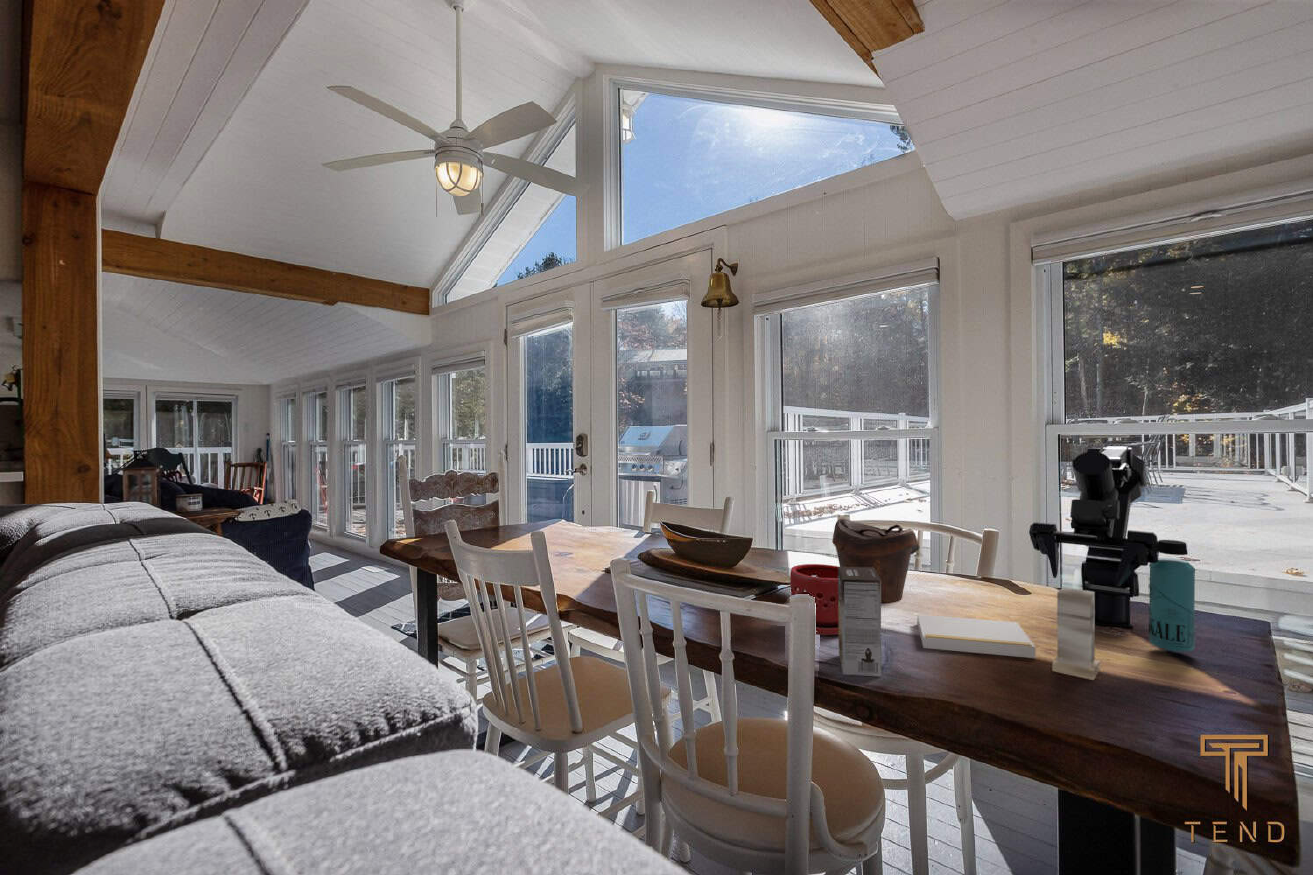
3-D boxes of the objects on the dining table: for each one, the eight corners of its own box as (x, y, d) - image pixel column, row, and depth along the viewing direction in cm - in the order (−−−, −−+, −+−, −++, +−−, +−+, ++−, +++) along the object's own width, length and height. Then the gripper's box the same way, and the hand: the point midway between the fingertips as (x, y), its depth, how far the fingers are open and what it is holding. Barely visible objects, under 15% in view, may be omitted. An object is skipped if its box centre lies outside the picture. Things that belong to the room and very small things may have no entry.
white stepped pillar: (1060, 661, 107) (1059, 586, 106) (1099, 669, 103) (1099, 591, 102) (1052, 670, 103) (1052, 592, 102) (1093, 680, 99) (1093, 598, 98)
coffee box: (837, 654, 111) (836, 565, 111) (875, 656, 110) (874, 566, 110) (842, 675, 102) (841, 578, 102) (883, 677, 101) (882, 579, 101)
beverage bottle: (1185, 649, 111) (1185, 537, 111) (1204, 662, 105) (1204, 544, 105) (1141, 645, 113) (1141, 536, 113) (1157, 658, 107) (1157, 543, 107)
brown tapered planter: (933, 605, 139) (932, 525, 139) (844, 607, 140) (842, 527, 140) (903, 586, 157) (901, 515, 157) (823, 587, 157) (822, 517, 157)
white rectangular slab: (1017, 632, 121) (1017, 621, 121) (1035, 658, 108) (1035, 645, 108) (917, 624, 127) (917, 613, 127) (923, 647, 114) (923, 635, 114)
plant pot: (818, 644, 117) (817, 580, 116) (777, 624, 129) (777, 566, 128) (872, 633, 122) (871, 573, 122) (828, 615, 134) (828, 560, 134)
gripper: (1031, 479, 118) (1015, 546, 110) (1157, 485, 105) (1149, 561, 97) (1041, 516, 124) (1027, 582, 116) (1161, 525, 111) (1154, 600, 103)
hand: (1085, 580), depth 108 cm, fingers open, 9 cm apart
